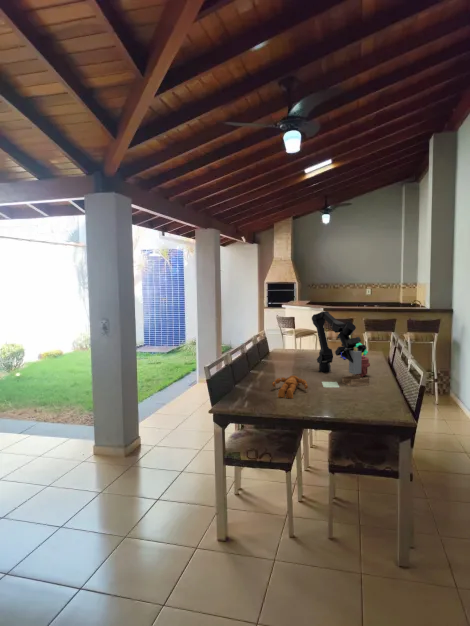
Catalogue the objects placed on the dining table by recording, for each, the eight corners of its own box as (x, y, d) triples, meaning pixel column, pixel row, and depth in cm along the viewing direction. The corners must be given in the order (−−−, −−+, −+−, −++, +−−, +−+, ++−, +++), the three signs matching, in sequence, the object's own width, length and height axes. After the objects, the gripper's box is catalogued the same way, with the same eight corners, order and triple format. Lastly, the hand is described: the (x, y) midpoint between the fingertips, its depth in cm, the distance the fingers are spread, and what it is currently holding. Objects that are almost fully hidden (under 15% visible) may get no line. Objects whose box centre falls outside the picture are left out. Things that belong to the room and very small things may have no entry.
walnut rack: (342, 383, 246) (342, 376, 246) (358, 381, 250) (359, 374, 250) (351, 386, 237) (351, 380, 237) (368, 384, 241) (369, 378, 241)
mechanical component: (368, 374, 267) (370, 378, 257) (352, 373, 269) (354, 377, 259) (369, 355, 265) (371, 358, 256) (353, 354, 267) (354, 358, 258)
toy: (304, 402, 215) (311, 384, 243) (304, 389, 214) (311, 373, 242) (267, 399, 221) (278, 382, 249) (266, 386, 220) (278, 371, 249)
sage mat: (321, 382, 248) (321, 381, 248) (336, 382, 247) (336, 381, 247) (323, 387, 237) (323, 387, 237) (339, 387, 236) (339, 387, 236)
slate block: (348, 372, 245) (349, 347, 243) (356, 371, 246) (356, 346, 245) (354, 374, 240) (354, 348, 238) (361, 373, 242) (361, 348, 240)
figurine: (345, 363, 308) (372, 359, 308) (343, 344, 307) (369, 340, 307) (339, 358, 326) (364, 354, 326) (337, 340, 325) (362, 336, 325)
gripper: (338, 333, 241) (348, 355, 232) (364, 331, 248) (376, 352, 238) (330, 344, 250) (340, 366, 240) (356, 342, 256) (367, 363, 246)
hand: (356, 361), depth 241 cm, fingers closed on slate block, 5 cm apart
